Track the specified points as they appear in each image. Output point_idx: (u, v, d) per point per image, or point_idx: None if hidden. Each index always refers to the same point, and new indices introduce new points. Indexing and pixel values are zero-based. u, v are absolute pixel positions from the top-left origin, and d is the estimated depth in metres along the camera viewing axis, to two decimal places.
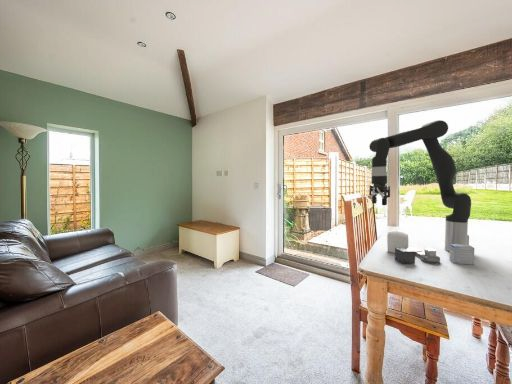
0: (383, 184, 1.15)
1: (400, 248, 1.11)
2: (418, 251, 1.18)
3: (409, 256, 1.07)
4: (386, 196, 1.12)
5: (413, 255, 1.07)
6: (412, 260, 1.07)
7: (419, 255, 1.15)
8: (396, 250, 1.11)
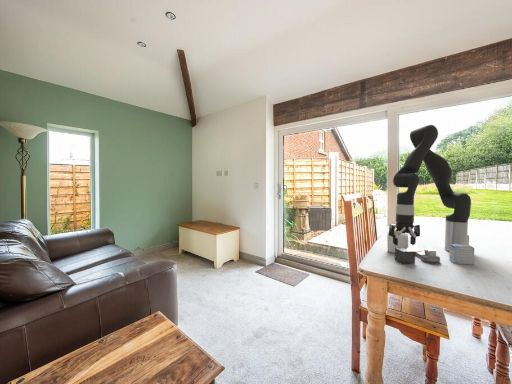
0: None
1: (400, 248, 1.11)
2: (418, 251, 1.18)
3: (409, 256, 1.07)
4: (419, 235, 1.08)
5: (413, 255, 1.07)
6: (412, 260, 1.07)
7: (419, 255, 1.15)
8: (396, 250, 1.11)
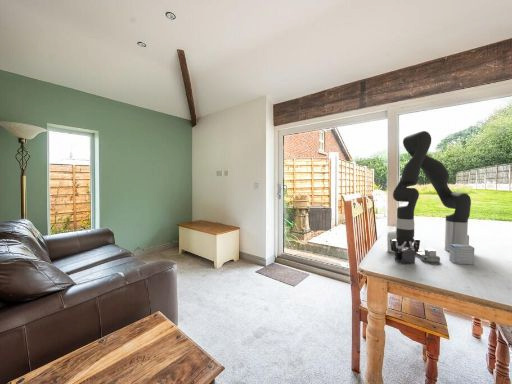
0: None
1: None
2: (418, 251, 1.18)
3: (409, 256, 1.07)
4: None
5: (413, 255, 1.07)
6: (412, 260, 1.07)
7: (419, 255, 1.15)
8: None
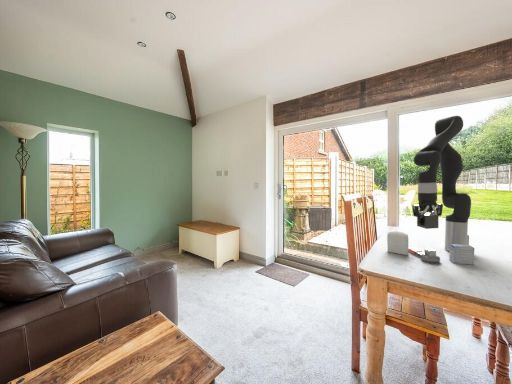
0: None
1: None
2: (418, 251, 1.18)
3: (432, 220, 1.05)
4: (441, 214, 1.07)
5: (436, 219, 1.05)
6: (435, 224, 1.06)
7: (419, 255, 1.15)
8: None
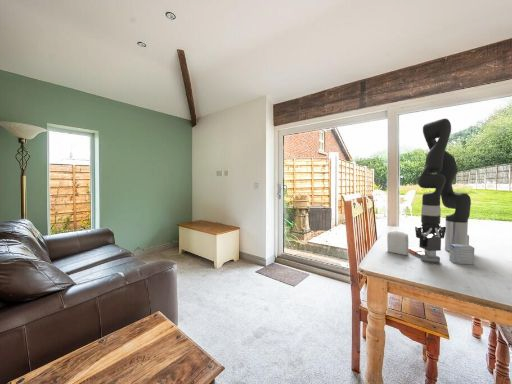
0: None
1: None
2: (418, 251, 1.18)
3: (435, 243, 1.06)
4: (443, 237, 1.08)
5: (439, 242, 1.06)
6: (437, 247, 1.06)
7: (419, 255, 1.15)
8: None
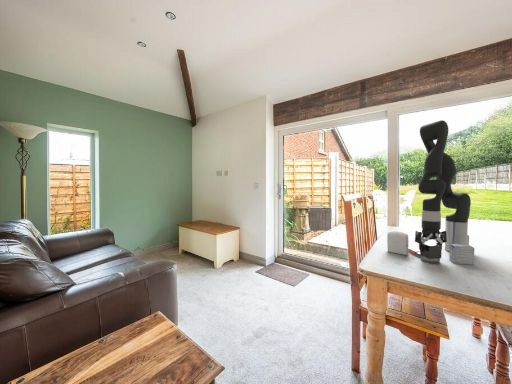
0: None
1: (425, 243, 1.11)
2: (418, 251, 1.18)
3: (435, 250, 1.06)
4: None
5: (439, 250, 1.06)
6: (438, 254, 1.06)
7: (419, 255, 1.15)
8: None
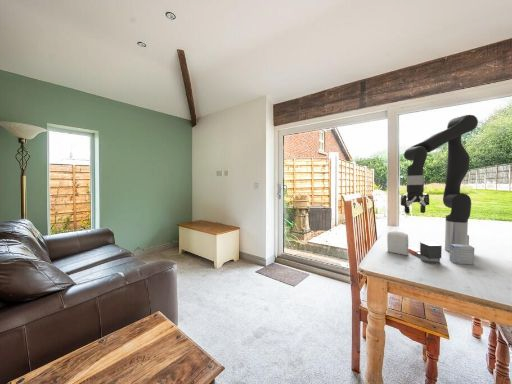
0: None
1: (425, 243, 1.11)
2: (418, 251, 1.18)
3: (435, 250, 1.06)
4: (428, 203, 1.18)
5: (439, 250, 1.06)
6: (438, 254, 1.06)
7: (419, 255, 1.15)
8: (421, 245, 1.11)
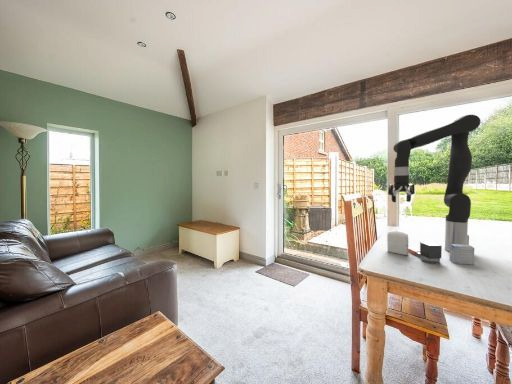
0: None
1: (425, 243, 1.11)
2: (418, 251, 1.18)
3: (435, 250, 1.06)
4: None
5: (439, 250, 1.06)
6: (438, 254, 1.06)
7: (419, 255, 1.15)
8: (421, 245, 1.11)
